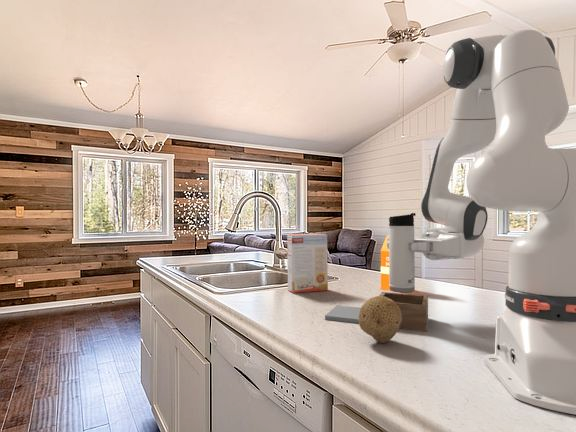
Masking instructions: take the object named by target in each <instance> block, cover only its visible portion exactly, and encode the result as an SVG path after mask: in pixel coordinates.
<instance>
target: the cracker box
mask: <svg viewBox="0 0 576 432" xmlns="http://www.w3.org/2000/svg"><path fill="white" fill-rule="evenodd" d="M286 237H287V239H286V240H287V241H286V242H287V244H286V246H287V249H286V251H287V256H286V257H287V291H289V292H290V293H293V294H297V293H298V294H299V293H309V292H311V293H312V292H325V291H326V292H327V291H328V289H329V288H328V287H329V286H328V284H329V283H328V281H329V280H328V279H329V278H328V277H329V275H328V273H329V271H328V265H329V264H328V234H326V233H294V234H293V233H292V234H291V233H290V234H287V236H286Z"/></svg>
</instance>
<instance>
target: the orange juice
mask: <svg viewBox="0 0 576 432" xmlns="http://www.w3.org/2000/svg"><path fill="white" fill-rule="evenodd" d="M388 237H389V235H386V237H385V239H384V242H383V244H382V247H381V249H380V290H384V291H390V292H392V291H391V290H390V289H389V284H390V283H389V249H388V248H387V238H388Z"/></svg>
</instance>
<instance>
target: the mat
mask: <svg viewBox="0 0 576 432" xmlns="http://www.w3.org/2000/svg"><path fill="white" fill-rule="evenodd" d="M360 309H361V307H359V306H358V307H356V306H349V305H348V306H347V305H335V306H334V307H333V308H332V309H331V310H329V312H327V313H326V314H325V315H324V320H327V321H335V322H336V321H337V322H345V323H351V324H359V312H360Z"/></svg>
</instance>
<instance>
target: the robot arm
mask: <svg viewBox="0 0 576 432" xmlns="http://www.w3.org/2000/svg"><path fill="white" fill-rule="evenodd" d="M559 65H560V64H559V62H558V60H557V57H556V48H555V45H554V42H553V40H552V38H550V37H549V36H545V35H544V34H543V33H542V32H541V31H538V30H534V29H522V30H518V31H514V32H513V33H510V34H508V35H502V34H496V35H487V36H486V35H485V36H482V37H481V36H480V37H476V38H471V37H467V38H463V39H460V40H457V41H455V42H453V43H452V44H451V45H450V47H448V49H447V51H446V53H445V55H444V60H443V63H442V73H443V79H444V82H445V83H446V84H447V86H448V87H449V88H451V89H452V88H453V89H456V91H455V95H454V98H453V104H452V109H451V114H450V115H451V118H450V122H449V123H450V124H449V127H448V130H447V133H446V134H445V136H444V137H442V138H441V139H440V140H439V142H438V145H437V147H436V150H435V153H434V157H433V161H432V165H431V170H430V175H429V179H428V183H427V186H426V187H427V188H426V191H425V193H424V196H423V198H422V201H421V205H420V210H421V213H422V216H423V217H424V219H425V220H426V221H428V222H430V223H434V224H439V225H443V226H444V227H429V228H427V229H426V230H424V231H423V232H422V233H421V236H414V243H409V250H414V253H419V254H420V253H421V254H422V255H423V256H424V257H425V258H426V259H428V260H430V261H442V260H443V261H444V260H450V259H454V260H456V259H464V258H469V257H472V256H475V255H477V254H478V253H480V252H481V250H482V249H483V247H484V245H485V237H484V233H483V232H484V231H485V229H486V226H487V224H488V217H489V215H488V211H487V209H493V210H498V211H504V212H538V214H537V219H536V221H535V223H534V225H533V227H532V228H531V229H530V230H528V232H526V233H523V234H521V235H520V236H518V237H515V239H514V240H512V242H511V243H510V245H509V247H508V255H507V256H508V259H507V262H508V264H507V265H508V266H507V267H508V270H507V271H508V275H507V276H508V278H507V279H508V285H507V286H506V287H505V293H504V299H505V306H506V309H505V310H504V311H503V313H501V314H500V315H498V316H497V317H496V320H495V321H496V322H495V340H494V353H489V354H485V356H484V360H483V362H484V363H485V364H486V365H487V367H488V368H489V369H490V370H491V372H492V373H493V374H494V375H495V376H496V377H497V379H498V380H499V382H501V383H502V384H503V386H504V387H505V388H506V389H507V390H508V392H509V393H510V394H511V396H512V397H513V398H515V399H517V400H519V401H521V402H523V403H526V404H528V405H529V404H530V405H533V406H536V407H539V408H543V409H547V410H552V411H555V412H560V413H565V414H571V415H576V148H573V147H572V148H553V147H552V148H551V147H549V146H548V145H547V143H546V136H547V135H549V134H550V133H552V132H554V131H555V130H557V128H559V127H561V125H562V124H563V123H564V121H565V119H566V117H567V116H568V113H569V111H570V105H569V102H568V97H567V94H566V90H565V89H566V88H565V85H564V81H563V77H562V73H561V69H560V66H559ZM488 146H489V147H488ZM487 147H488V148H487ZM485 148H487V149H486V150H485V151H484V152H482V153H481V154H480V155H478V157H476V159H474V161H473V162H472V164H471V165H470V167H469V169H468V172H467V175H466V188H467V191H468V194H469V196H466V195H461V194H457V193H452V192H451V191H450V190H449V185H450V180H451V176H452V173H453V168H454V165H455V163H456V162H457V160H458V159H459V158H461V157H464V156H466V155H471V154H474V153H477V152H479V151H482V150H483V149H485ZM387 248H388V249H389V237H388V238H387Z"/></svg>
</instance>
